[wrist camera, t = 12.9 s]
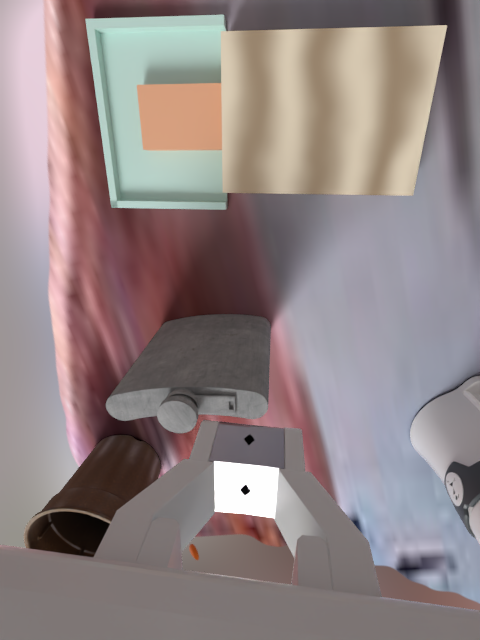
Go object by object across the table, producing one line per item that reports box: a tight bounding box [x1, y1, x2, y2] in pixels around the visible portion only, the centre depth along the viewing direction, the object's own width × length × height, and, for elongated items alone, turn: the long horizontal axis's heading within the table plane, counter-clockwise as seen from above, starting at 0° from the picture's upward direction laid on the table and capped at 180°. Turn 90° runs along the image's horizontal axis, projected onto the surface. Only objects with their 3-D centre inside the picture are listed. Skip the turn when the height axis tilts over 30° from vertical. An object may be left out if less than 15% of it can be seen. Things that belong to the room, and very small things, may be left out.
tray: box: [85, 15, 228, 210], centre depth 38 cm, size 14×18×2 cm
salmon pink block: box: [137, 83, 222, 151], centre depth 37 cm, size 9×6×2 cm, turn 90°
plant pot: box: [24, 435, 161, 557], centre depth 53 cm, size 16×16×16 cm
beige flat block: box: [221, 25, 447, 196], centre depth 35 cm, size 20×14×4 cm
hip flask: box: [106, 314, 271, 433], centre depth 39 cm, size 16×4×20 cm, turn 96°
